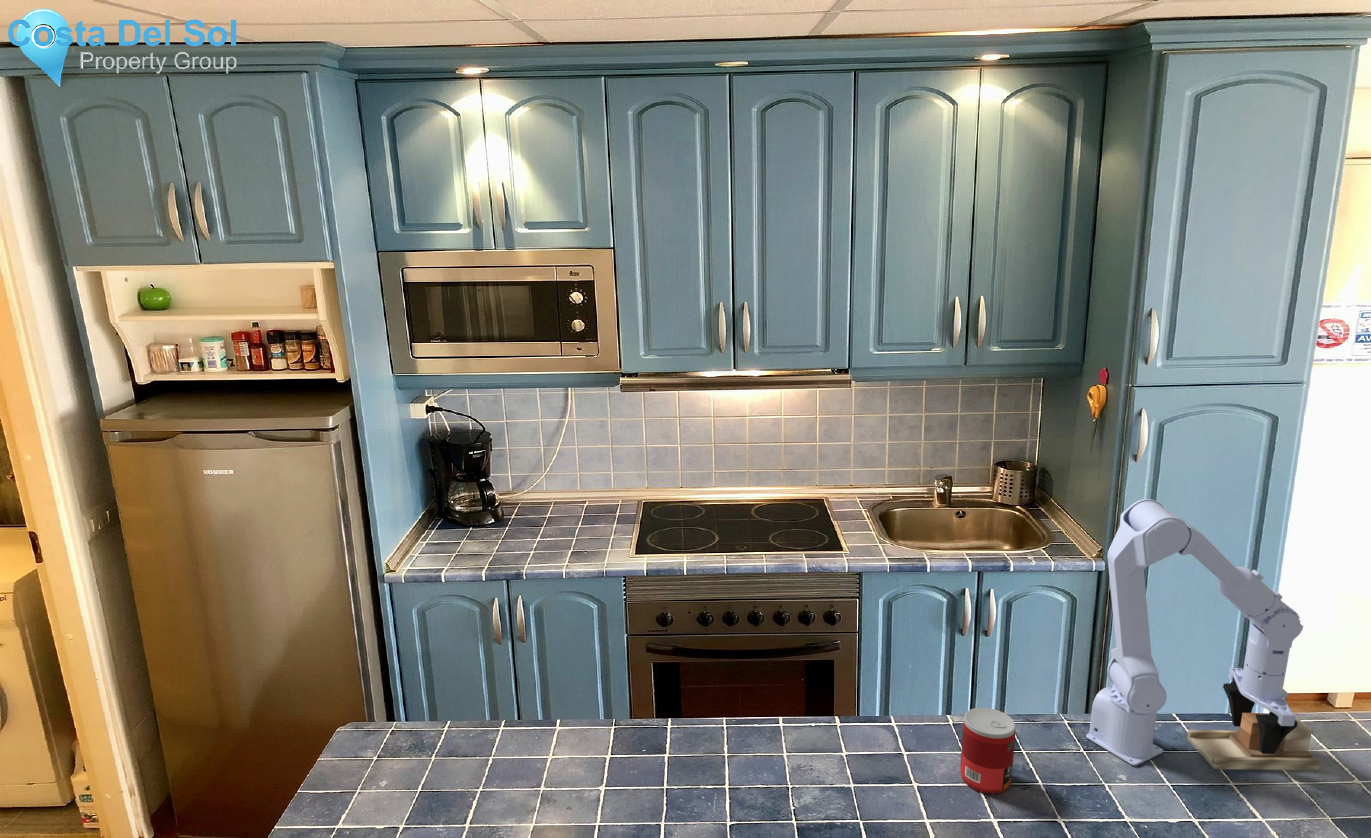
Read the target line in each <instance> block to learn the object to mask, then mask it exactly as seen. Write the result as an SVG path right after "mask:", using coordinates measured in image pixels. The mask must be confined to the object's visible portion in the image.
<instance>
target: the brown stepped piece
mask: <svg viewBox="0 0 1371 838" xmlns="http://www.w3.org/2000/svg"><path fill="white" fill-rule="evenodd" d="M1256 714H1262V713H1261V712H1251V713H1242V719H1241V726H1240V727H1239V730H1240V732H1239V733H1230V736H1229V738H1230V739H1231V740H1232V742H1233V743H1234V744H1235V745H1236V746H1237V747H1238V748H1239V749H1240V750H1241V751H1242V752H1243V753H1244V754H1245V755H1246V756H1247V757H1288V758H1313V754H1312V753H1311V752H1310V751H1309V750H1308V751H1283V750H1282V749H1281V748H1280V747H1278V749H1277V751H1276V752H1275V754H1262V753H1261V752H1260V749H1259V741H1260V730H1259V724H1258V721H1257V718H1256Z"/></svg>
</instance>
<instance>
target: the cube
mask: <svg viewBox="0 0 1371 838" xmlns="http://www.w3.org/2000/svg"><path fill="white" fill-rule="evenodd" d="M1295 720H1296V721H1297V723H1298V724H1297V727H1296V728H1295V729H1293V730H1292V731H1291V732H1290V733H1289V734H1287V736H1286V737H1285V738H1284V739H1283V740H1282V742H1281V744H1280V745H1279V747H1280V748H1281V749H1282V750H1283V751H1309V749H1310V744H1311V743H1310V742H1311V739H1312V734H1313V733H1312V732H1313V730H1312V728H1311V727H1309V726H1308V725H1307V724H1306V723H1305V722H1303V721H1302V720H1301V719H1300V718H1299V717H1298V716H1296V717H1295Z"/></svg>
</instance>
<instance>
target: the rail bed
mask: <svg viewBox="0 0 1371 838" xmlns="http://www.w3.org/2000/svg"><path fill="white" fill-rule="evenodd" d="M1239 732H1240V729H1239V730H1238V729H1188V730H1187V736H1186V740H1187V741H1188V742H1189V743H1190V744H1191V746H1193V748H1194V749H1195V750H1197V752H1198V753H1199V754H1200V755H1201V756H1202V758H1203V759H1204V760H1205V761H1206V762H1207V763H1208V764H1209V765H1210V766H1211V768H1212V769H1213V770H1251V771H1252V770H1253V771H1254V770H1258V771H1259V770H1261V771H1262V770H1264V771H1265V770H1266V771H1267V770H1269V771H1270V770H1271V771H1274V770H1275V771H1276V770H1277V771H1286V770H1289V771H1318V770H1319V768H1320V762H1321V760H1320V759H1319V758H1318V757H1312V758H1288V757H1247V756H1246V755H1245V754H1244V753H1243V752H1242V751H1241V750H1240V749H1239V748H1238V747H1237V746H1236V745H1235V744H1234V743H1233V742H1232V740H1231V739H1230V738H1229V736H1230V733H1239Z"/></svg>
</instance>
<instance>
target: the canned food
mask: <svg viewBox="0 0 1371 838" xmlns="http://www.w3.org/2000/svg"><path fill="white" fill-rule="evenodd" d="M1016 727H1017V726H1016V723H1015V720H1014V718H1012V717H1011V716H1009V715H1008V714H1006V713H1005V712H1003V711H1000V710H997V709H995V708H994V709H993V708H989V707H976V708H975V707H974V708H970V709H969V710H968V711H966V712H965V713H964V717H963V724H962V735H961V736H962V739H961V753H960V754H961V755H960V767H959V772H960V776H961V779H962V780H963V782H964V783H965V784H966V785H967V786H969V787H970V788H971V789H973V790H976V791H977V792H981V793H984V794H989V795H990V794H992V795H993V794H994V795H995V794H1001V793H1004V792H1006V791H1008V789H1009V787H1010V785H1011V783H1012V777H1013V766H1014V765H1013V763H1014V756H1015V754H1014V753H1015V745H1016V743H1015V742H1016V732H1017V728H1016Z"/></svg>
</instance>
